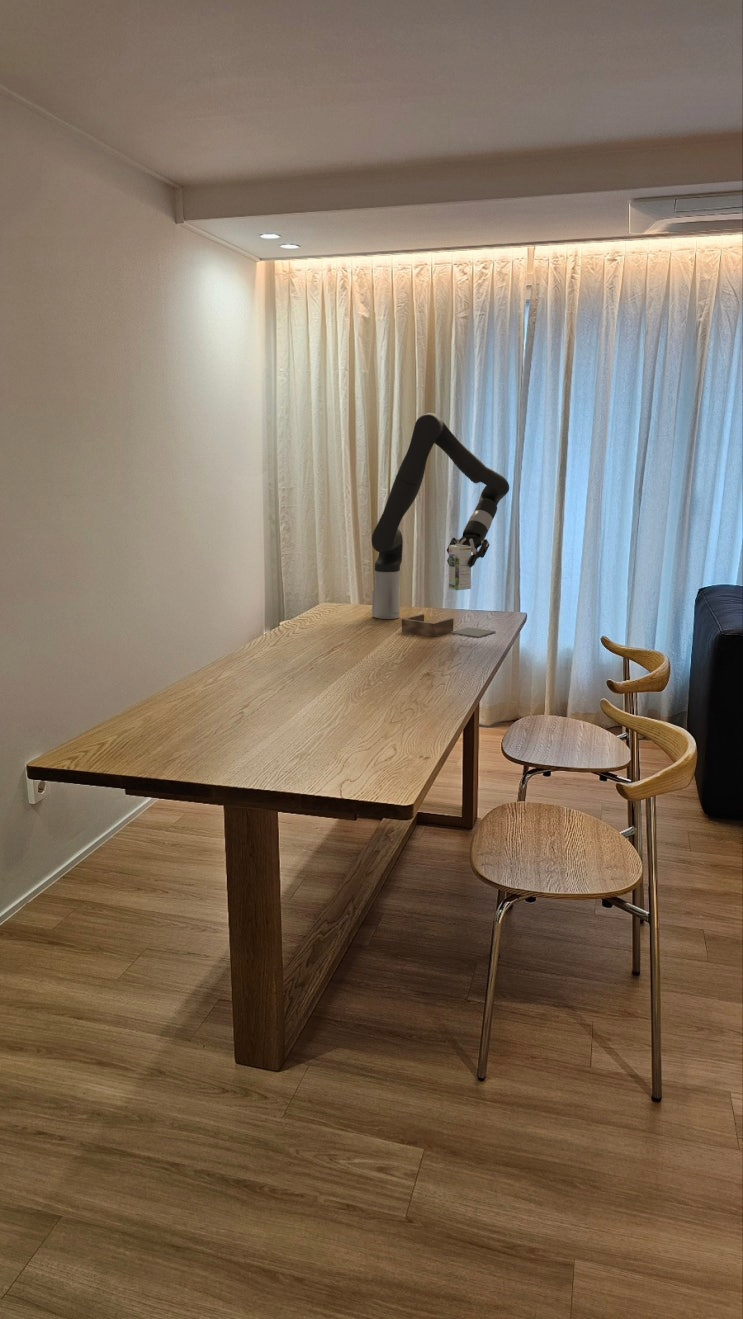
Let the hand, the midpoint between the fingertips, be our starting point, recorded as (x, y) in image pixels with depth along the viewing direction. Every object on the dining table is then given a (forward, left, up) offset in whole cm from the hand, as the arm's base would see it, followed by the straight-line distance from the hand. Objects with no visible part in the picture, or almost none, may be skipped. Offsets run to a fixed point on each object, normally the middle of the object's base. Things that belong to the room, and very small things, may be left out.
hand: (459, 564), depth 307 cm
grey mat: (+4, +3, -23) cm, 24 cm away
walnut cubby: (-9, -4, -23) cm, 25 cm away
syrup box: (0, 0, -8) cm, 8 cm away
